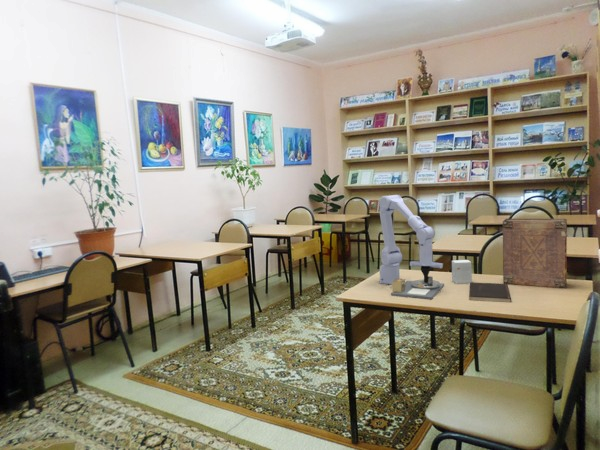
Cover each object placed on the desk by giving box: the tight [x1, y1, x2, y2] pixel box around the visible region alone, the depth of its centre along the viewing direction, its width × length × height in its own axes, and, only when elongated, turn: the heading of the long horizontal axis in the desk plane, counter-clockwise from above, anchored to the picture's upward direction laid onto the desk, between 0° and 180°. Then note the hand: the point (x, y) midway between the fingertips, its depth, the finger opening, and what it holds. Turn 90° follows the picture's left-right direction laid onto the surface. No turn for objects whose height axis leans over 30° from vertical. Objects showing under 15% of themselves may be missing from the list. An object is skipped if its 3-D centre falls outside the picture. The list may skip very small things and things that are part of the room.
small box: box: [451, 259, 473, 285], centre depth 207 cm, size 8×6×10 cm
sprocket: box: [411, 275, 440, 289], centre depth 200 cm, size 13×13×5 cm
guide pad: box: [407, 288, 430, 296], centre depth 191 cm, size 8×9×1 cm
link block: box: [391, 278, 406, 293], centre depth 195 cm, size 4×6×5 cm, turn 149°
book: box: [502, 218, 568, 290], centre depth 195 cm, size 25×9×30 cm, turn 58°
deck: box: [390, 280, 445, 300], centre depth 197 cm, size 18×24×1 cm
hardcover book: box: [468, 281, 512, 303], centre depth 186 cm, size 16×23×2 cm
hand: (426, 282), depth 196 cm, fingers closed, pressing on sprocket
